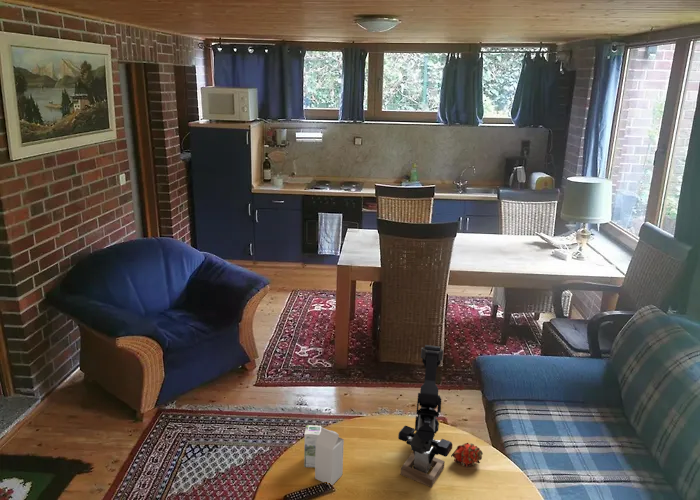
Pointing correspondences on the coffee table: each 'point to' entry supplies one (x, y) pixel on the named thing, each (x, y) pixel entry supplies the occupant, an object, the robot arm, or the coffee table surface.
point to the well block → (420, 476)
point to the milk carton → (328, 456)
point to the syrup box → (310, 445)
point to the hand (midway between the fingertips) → (423, 460)
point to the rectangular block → (422, 461)
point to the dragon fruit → (467, 454)
